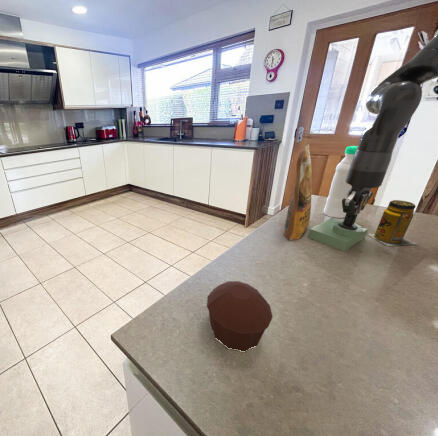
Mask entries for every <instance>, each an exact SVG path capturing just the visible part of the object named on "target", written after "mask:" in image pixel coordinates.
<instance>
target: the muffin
mask: <svg viewBox="0 0 438 436" xmlns="http://www.w3.org/2000/svg"><path fill="white" fill-rule="evenodd" d="M206 308H207V310H208V315H209V321H210V322H209V323H210V328H211V327H212V328H211V330H212V329H213V330H212V332H213V331H214V332H213V335H215V336H214V339H215V338H217V339H218V340H220V341H221V342H222V343H223V344H224V345H226V346H227V347H228V348H232V349H238V350H241V351H246V350H248V349H249V348H251V347H254V346H257V347H258V345H259V343H260V341H261V339H262V337H263V335H264V333H265V331H266V329H268V328H269V326H270V325H271V322H272V320H273V317H274V316H273V312H272V309H271V305H270V304H269V302H268V301H267V300H266V298H264V296H263V295H262V293H261V292H260V291H259V290H258V289H257V288H255V287H254V286H252V285H250V284H249V283H247V282H242V281H238V280H229V281H226V282H222V283H221V284H219V285H217V286H215V287H214V288H213V289H212V291H210V293H209V294H208V295H207V298H206ZM223 344H222V345H223ZM224 345H223V346H224ZM248 351H249V350H248ZM246 352H247V351H246Z"/></svg>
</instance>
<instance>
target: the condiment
mask: <svg viewBox="0 0 438 436" xmlns="http://www.w3.org/2000/svg"><path fill="white" fill-rule="evenodd" d="M415 209H416V204H415V203H413V202H411V201H406V200H400V199H394V200H393V199H392V200H390V201H389V202H388V205H387V207H386V208H385V209H384V211H383V212H382V216H381V218H380V220H379V223H378V225H377V228H376V230H375V232H374V233H367V236H369V237H370V238H372V239H374V240H376V241H378V242H379V243H381V244H384V245H385V246H387V247H392V246H393V247H395V246H396V247H397V246H398V247H399V246H411V245H417V243H416V242H413V241H411V240H409V239H407V238H405V235H406V233H407V231H408V229H409V227H410V225H411V222H412V221H413V218H414V215H415V214H414V212H415Z"/></svg>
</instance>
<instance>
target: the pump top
mask: <svg viewBox="0 0 438 436" xmlns="http://www.w3.org/2000/svg"><path fill="white" fill-rule="evenodd" d="M355 224H356V223H354V225H352V226H347V225H344V224H343V222H341V223H340V225H339V226H340V227H342V228H344V229H349V230H356V228H357V226H356V225H355Z"/></svg>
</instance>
